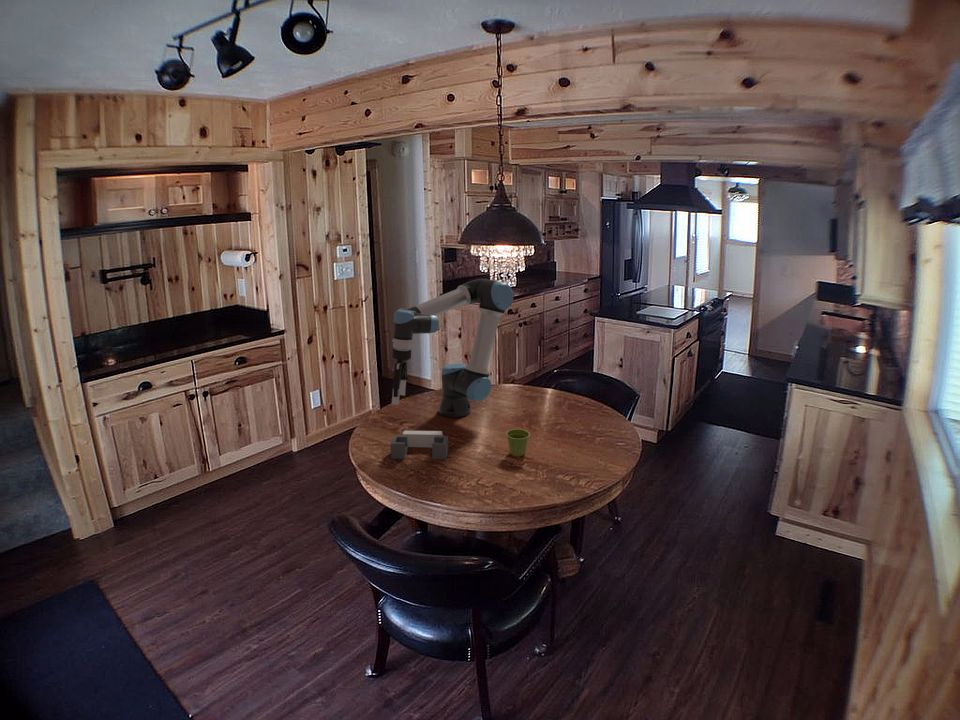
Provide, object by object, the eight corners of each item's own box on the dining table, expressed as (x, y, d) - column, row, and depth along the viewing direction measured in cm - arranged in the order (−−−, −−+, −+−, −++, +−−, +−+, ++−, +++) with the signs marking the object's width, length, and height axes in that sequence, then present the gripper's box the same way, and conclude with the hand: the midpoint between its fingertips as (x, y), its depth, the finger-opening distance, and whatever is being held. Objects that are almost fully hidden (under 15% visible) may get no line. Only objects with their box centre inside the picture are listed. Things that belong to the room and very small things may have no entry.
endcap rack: (448, 450, 242) (448, 436, 240) (446, 459, 235) (446, 444, 233) (394, 449, 243) (394, 435, 241) (391, 458, 236) (390, 443, 234)
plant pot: (529, 448, 244) (529, 429, 241) (529, 459, 235) (529, 439, 232) (506, 447, 244) (506, 428, 242) (505, 458, 235) (506, 438, 233)
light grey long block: (442, 444, 248) (442, 431, 247) (441, 448, 245) (441, 434, 243) (404, 443, 249) (404, 430, 247) (403, 447, 246) (402, 434, 244)
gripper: (398, 342, 250) (395, 390, 254) (386, 354, 225) (382, 407, 230) (416, 344, 249) (412, 392, 254) (405, 356, 225) (401, 409, 230)
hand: (398, 399), depth 242 cm, fingers open, 13 cm apart
